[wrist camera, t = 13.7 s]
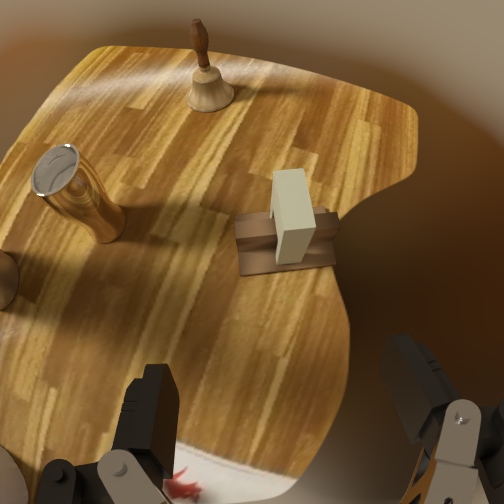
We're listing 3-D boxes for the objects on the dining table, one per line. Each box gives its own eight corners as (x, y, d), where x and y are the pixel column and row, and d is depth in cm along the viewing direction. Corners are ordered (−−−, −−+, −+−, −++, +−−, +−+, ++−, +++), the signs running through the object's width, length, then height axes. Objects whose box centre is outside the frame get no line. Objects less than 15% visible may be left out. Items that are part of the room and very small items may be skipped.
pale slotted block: (300, 262, 39) (316, 227, 29) (276, 265, 39) (283, 230, 29) (292, 215, 41) (303, 168, 31) (269, 217, 41) (273, 170, 31)
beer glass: (98, 198, 43) (48, 139, 29) (136, 206, 43) (91, 143, 29) (79, 240, 41) (19, 192, 27) (118, 252, 41) (61, 202, 26)
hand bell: (208, 120, 48) (194, 40, 32) (176, 99, 49) (156, 26, 34) (244, 93, 49) (240, 16, 34) (211, 75, 51) (200, 3, 36)
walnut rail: (240, 276, 39) (238, 264, 35) (234, 217, 42) (231, 198, 37) (335, 265, 40) (345, 252, 35) (323, 208, 42) (331, 189, 37)
